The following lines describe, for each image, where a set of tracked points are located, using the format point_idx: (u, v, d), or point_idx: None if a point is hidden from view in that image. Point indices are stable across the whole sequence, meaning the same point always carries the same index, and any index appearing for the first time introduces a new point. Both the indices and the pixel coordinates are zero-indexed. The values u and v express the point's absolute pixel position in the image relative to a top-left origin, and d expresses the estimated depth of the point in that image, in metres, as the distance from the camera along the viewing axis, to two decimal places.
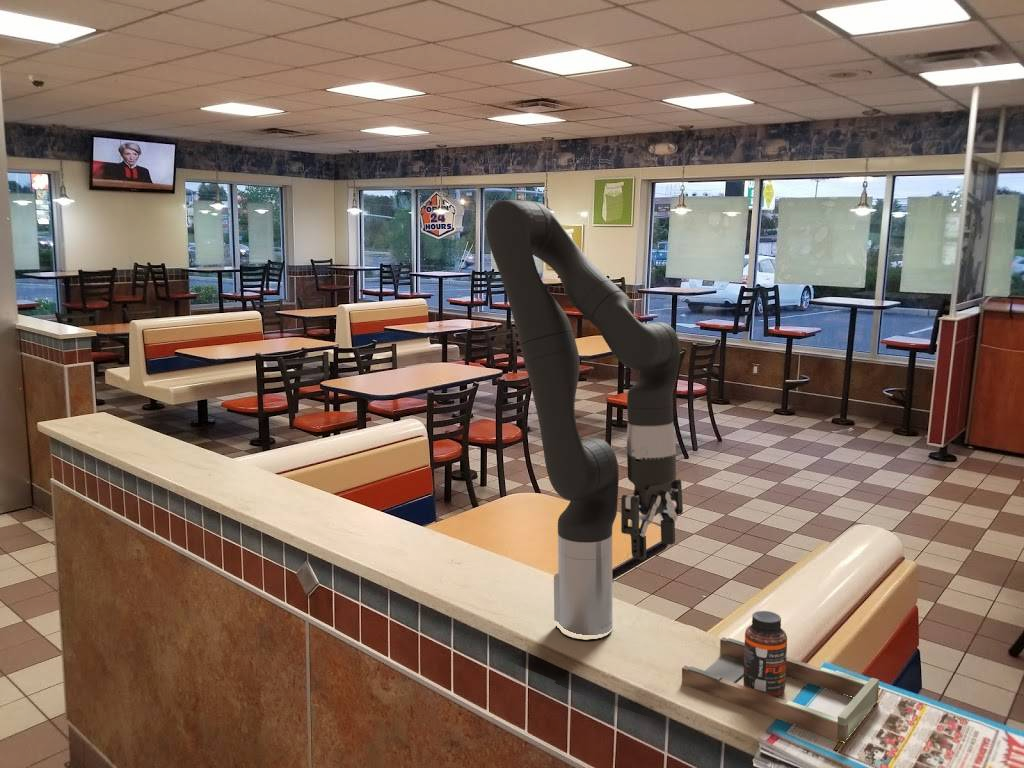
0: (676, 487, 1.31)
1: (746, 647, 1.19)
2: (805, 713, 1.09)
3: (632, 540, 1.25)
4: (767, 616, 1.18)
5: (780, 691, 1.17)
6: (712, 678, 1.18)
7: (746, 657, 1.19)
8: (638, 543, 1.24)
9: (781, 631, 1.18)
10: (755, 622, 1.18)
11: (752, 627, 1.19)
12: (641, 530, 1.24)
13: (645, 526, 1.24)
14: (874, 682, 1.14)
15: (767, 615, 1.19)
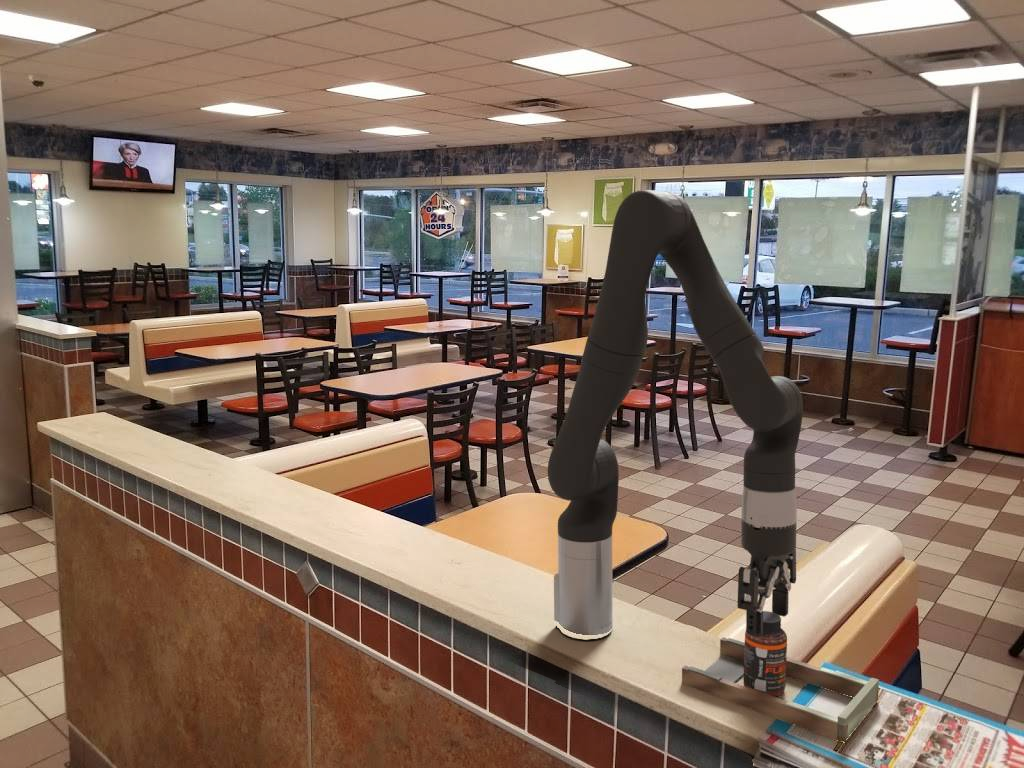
0: (790, 554, 1.20)
1: (746, 647, 1.19)
2: (805, 713, 1.09)
3: (748, 615, 1.14)
4: (768, 616, 1.18)
5: (780, 691, 1.17)
6: (712, 678, 1.18)
7: (746, 657, 1.19)
8: (755, 619, 1.14)
9: (781, 631, 1.18)
10: None
11: None
12: (759, 605, 1.13)
13: (763, 601, 1.14)
14: (874, 682, 1.14)
15: (767, 615, 1.19)
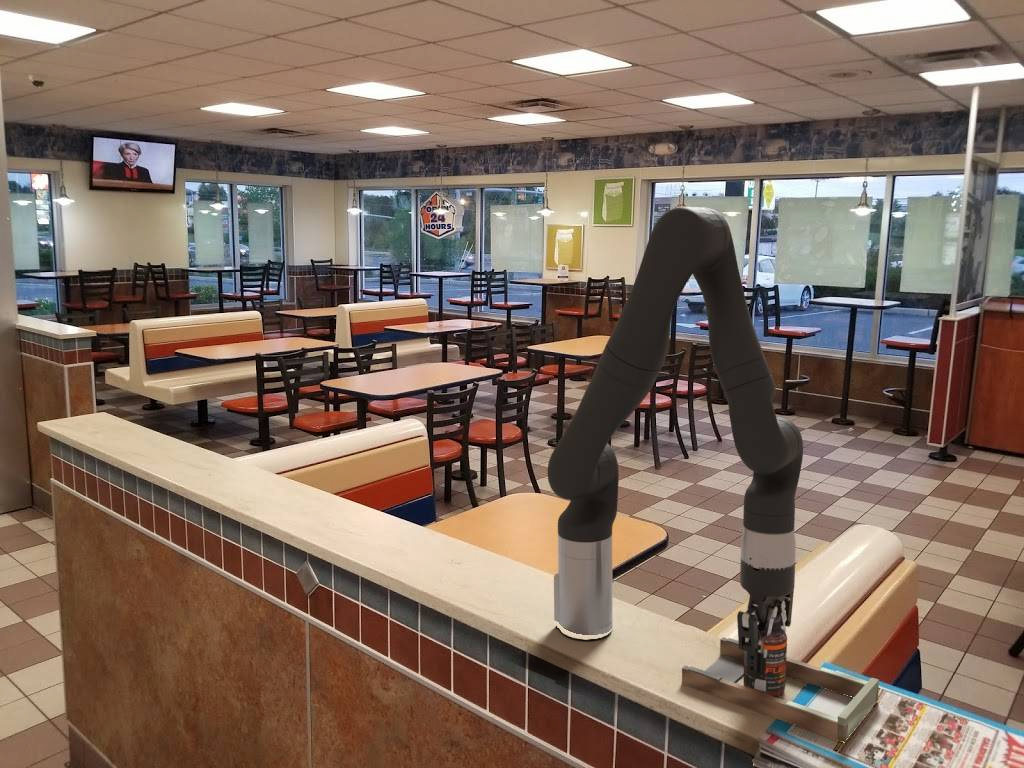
0: (788, 595, 1.21)
1: None
2: (805, 713, 1.09)
3: (749, 656, 1.16)
4: None
5: (780, 691, 1.17)
6: (712, 678, 1.18)
7: (746, 657, 1.19)
8: (756, 660, 1.15)
9: (781, 631, 1.18)
10: None
11: None
12: (760, 647, 1.15)
13: (763, 642, 1.15)
14: (874, 682, 1.14)
15: None
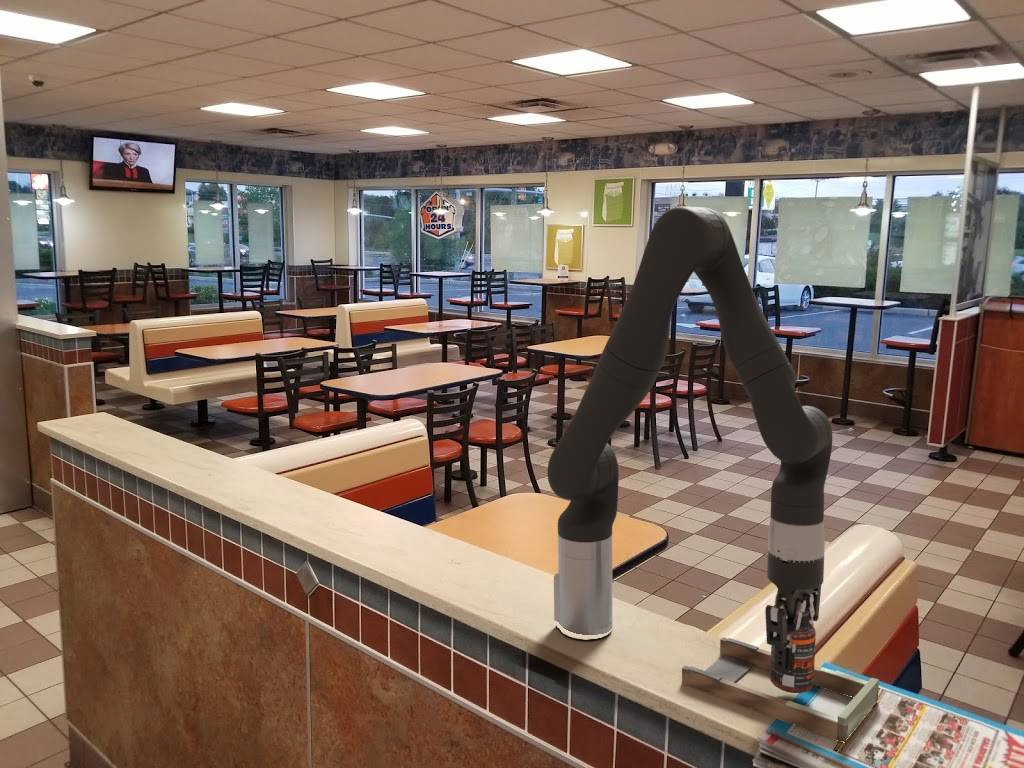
0: (816, 589, 1.18)
1: None
2: (805, 713, 1.09)
3: (777, 651, 1.13)
4: None
5: (808, 687, 1.14)
6: (712, 678, 1.18)
7: (773, 652, 1.16)
8: (784, 655, 1.12)
9: (809, 625, 1.15)
10: None
11: None
12: (789, 641, 1.12)
13: (792, 636, 1.12)
14: (874, 682, 1.14)
15: None
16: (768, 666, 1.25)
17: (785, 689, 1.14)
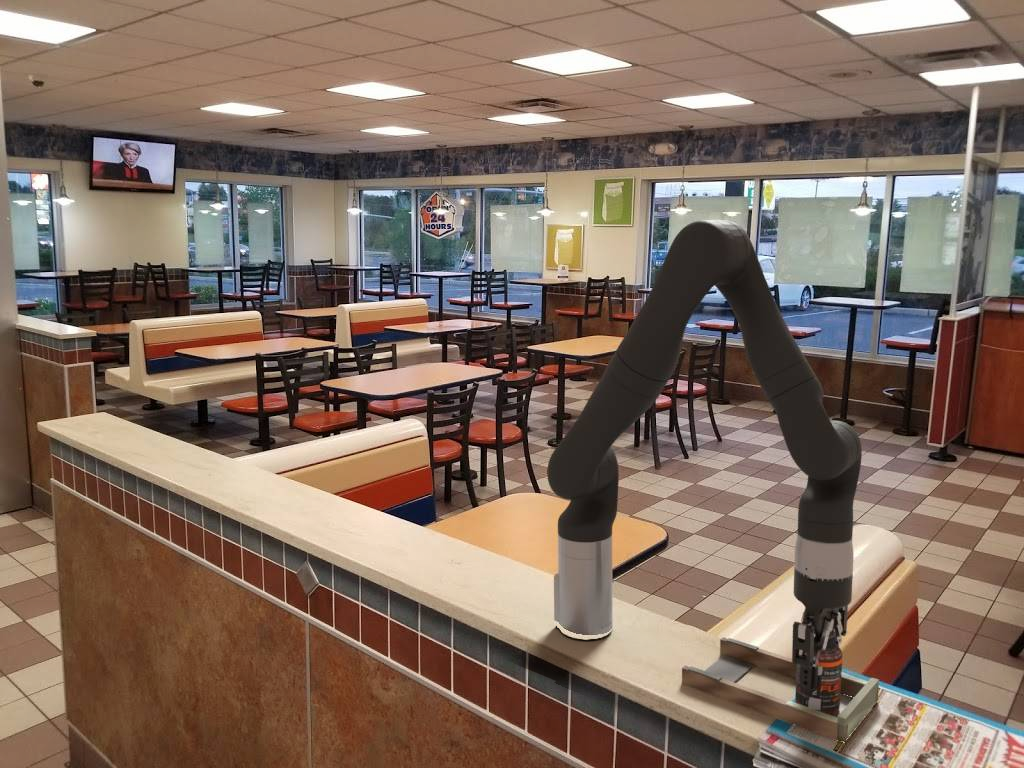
0: None
1: None
2: (805, 713, 1.09)
3: (802, 670, 1.10)
4: None
5: (835, 710, 1.12)
6: (712, 678, 1.18)
7: (799, 674, 1.13)
8: (810, 674, 1.10)
9: (836, 647, 1.12)
10: None
11: None
12: (814, 661, 1.09)
13: (818, 655, 1.10)
14: (874, 682, 1.14)
15: None
16: (768, 666, 1.25)
17: None
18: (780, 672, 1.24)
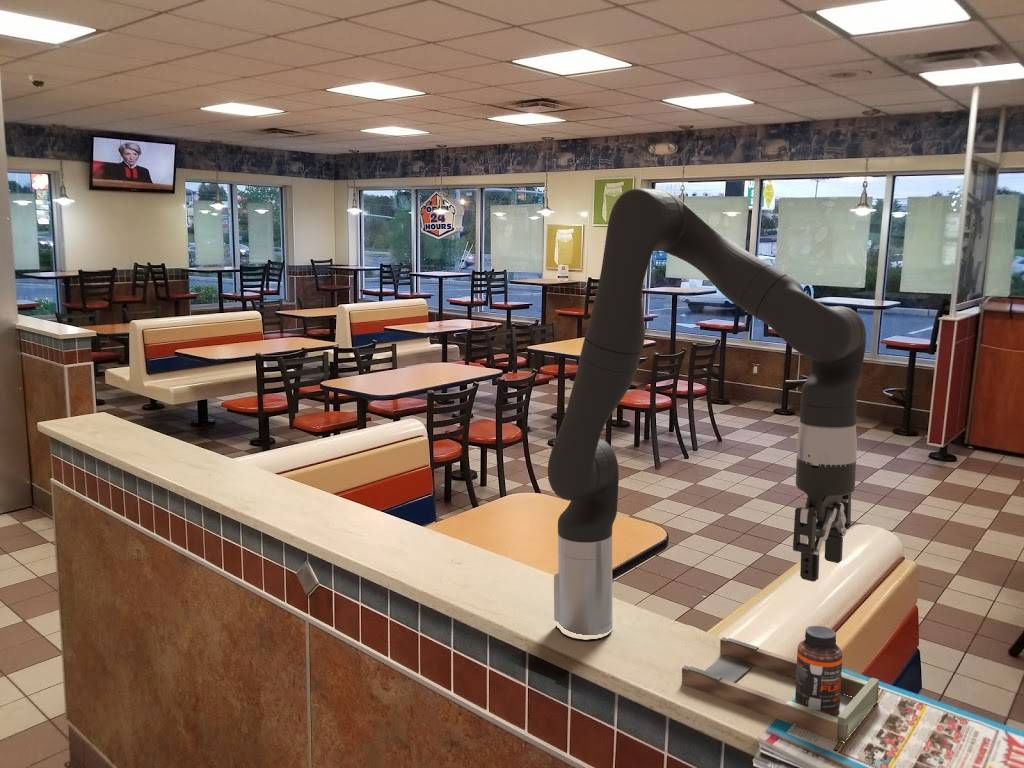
0: (846, 497, 1.14)
1: (799, 664, 1.13)
2: (805, 713, 1.09)
3: (803, 559, 1.08)
4: (822, 632, 1.13)
5: (835, 710, 1.12)
6: (712, 678, 1.18)
7: (799, 674, 1.13)
8: (811, 563, 1.07)
9: (836, 647, 1.12)
10: (809, 638, 1.12)
11: (805, 642, 1.13)
12: (816, 548, 1.07)
13: (820, 543, 1.07)
14: (874, 682, 1.14)
15: (821, 630, 1.13)
16: (768, 666, 1.25)
17: None
18: (780, 672, 1.24)
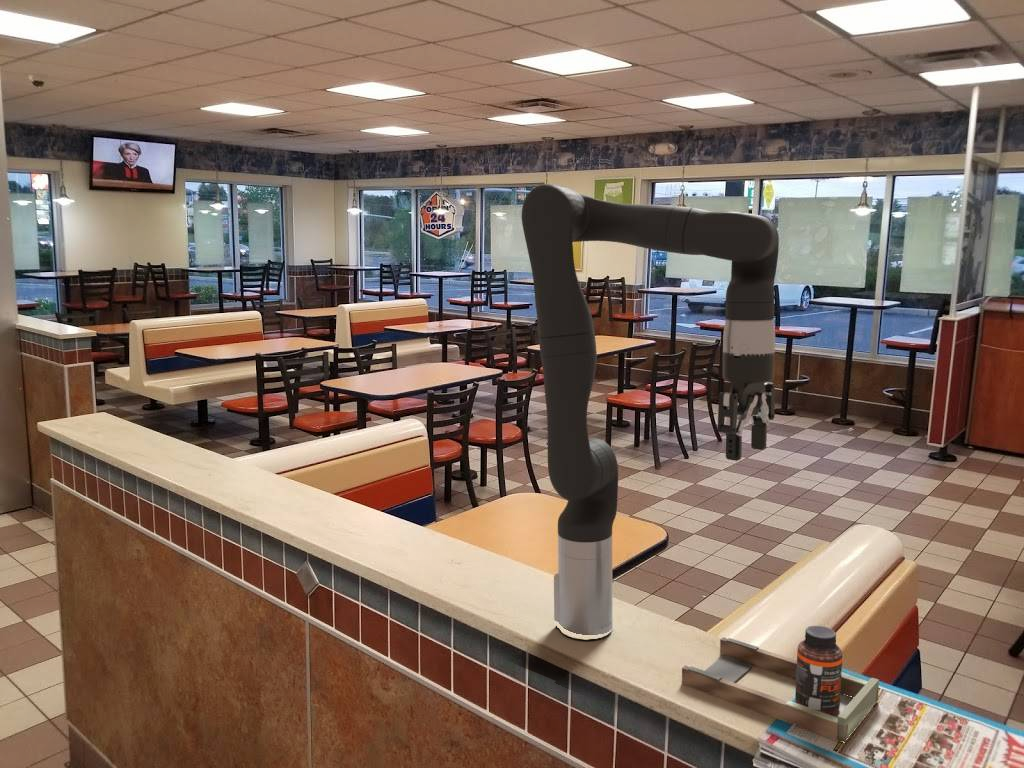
0: (769, 390, 1.27)
1: (799, 664, 1.13)
2: (805, 713, 1.09)
3: (727, 440, 1.21)
4: (822, 632, 1.13)
5: (835, 710, 1.12)
6: (712, 678, 1.18)
7: (799, 674, 1.13)
8: (734, 443, 1.20)
9: (836, 647, 1.12)
10: (809, 638, 1.12)
11: (805, 642, 1.13)
12: (738, 429, 1.20)
13: (742, 426, 1.20)
14: (874, 682, 1.14)
15: (821, 630, 1.13)
16: (768, 666, 1.25)
17: None
18: (780, 672, 1.24)
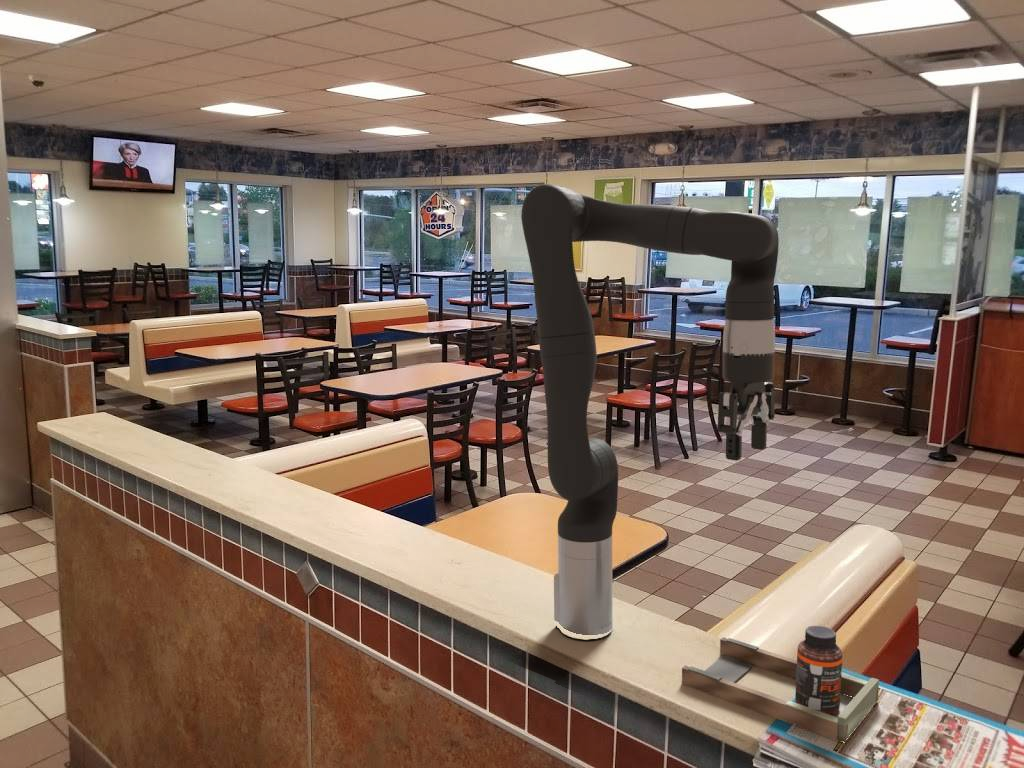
0: (769, 390, 1.27)
1: (799, 664, 1.13)
2: (805, 713, 1.09)
3: (727, 440, 1.21)
4: (822, 632, 1.13)
5: (835, 710, 1.12)
6: (712, 678, 1.18)
7: (799, 674, 1.13)
8: (734, 443, 1.20)
9: (836, 647, 1.12)
10: (809, 638, 1.12)
11: (805, 642, 1.13)
12: (738, 429, 1.20)
13: (742, 425, 1.20)
14: (874, 682, 1.14)
15: (821, 630, 1.13)
16: (768, 666, 1.25)
17: None
18: (780, 672, 1.24)
